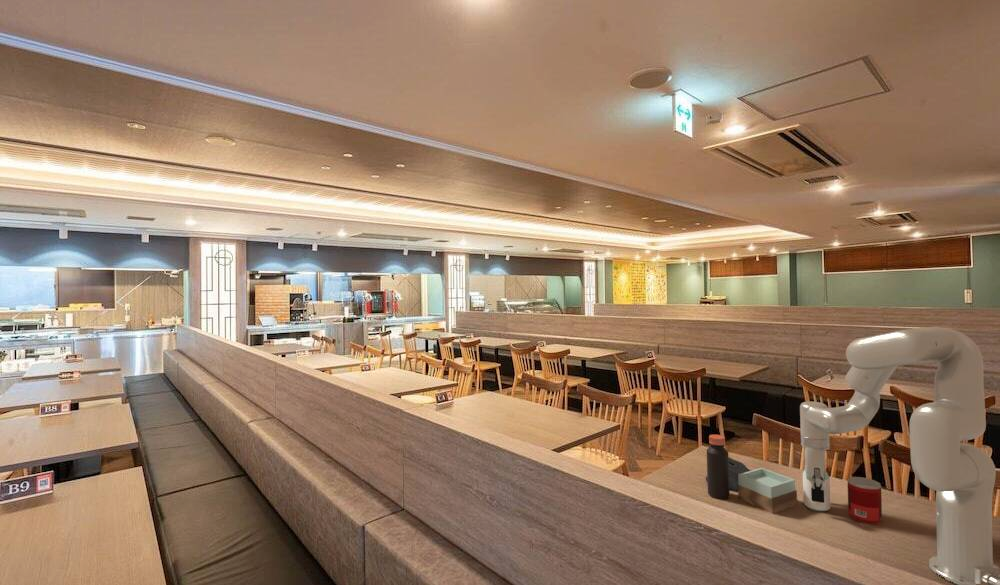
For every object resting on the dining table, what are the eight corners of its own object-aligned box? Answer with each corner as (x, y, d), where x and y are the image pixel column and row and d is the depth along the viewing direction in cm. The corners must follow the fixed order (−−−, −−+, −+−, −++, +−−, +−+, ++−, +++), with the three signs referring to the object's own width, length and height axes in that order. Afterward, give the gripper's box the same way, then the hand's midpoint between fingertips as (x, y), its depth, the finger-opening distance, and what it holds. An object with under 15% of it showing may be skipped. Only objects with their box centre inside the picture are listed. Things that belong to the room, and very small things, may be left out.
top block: (795, 490, 149) (795, 479, 149) (771, 498, 144) (771, 487, 144) (761, 477, 160) (761, 467, 160) (738, 484, 155) (738, 474, 155)
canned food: (888, 525, 135) (887, 487, 135) (857, 523, 137) (856, 486, 136) (872, 512, 142) (871, 477, 142) (843, 511, 144) (842, 475, 144)
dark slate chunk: (697, 484, 168) (697, 471, 168) (715, 465, 184) (715, 453, 184) (744, 495, 158) (744, 481, 158) (758, 474, 174) (758, 461, 174)
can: (808, 511, 144) (807, 473, 144) (800, 501, 151) (798, 464, 151) (834, 513, 143) (833, 474, 143) (824, 502, 150) (823, 466, 149)
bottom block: (797, 506, 149) (796, 490, 149) (772, 514, 144) (772, 498, 144) (762, 491, 160) (761, 477, 160) (738, 499, 155) (737, 484, 155)
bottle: (727, 491, 160) (725, 434, 160) (731, 500, 153) (729, 440, 153) (706, 489, 162) (704, 433, 162) (709, 498, 155) (707, 439, 155)
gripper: (799, 432, 156) (800, 482, 156) (802, 448, 141) (804, 504, 141) (826, 435, 152) (827, 486, 153) (832, 452, 137) (834, 509, 138)
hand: (816, 495), depth 147 cm, fingers open, 9 cm apart
